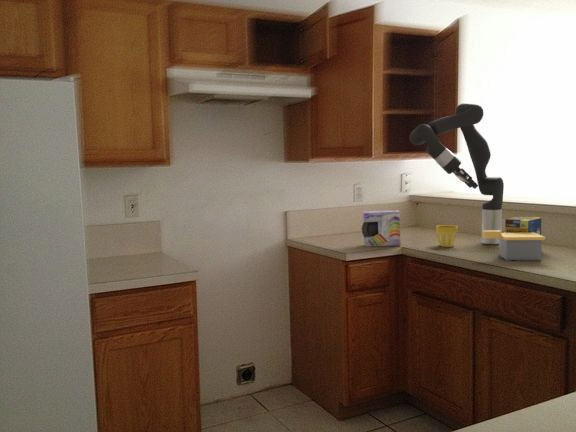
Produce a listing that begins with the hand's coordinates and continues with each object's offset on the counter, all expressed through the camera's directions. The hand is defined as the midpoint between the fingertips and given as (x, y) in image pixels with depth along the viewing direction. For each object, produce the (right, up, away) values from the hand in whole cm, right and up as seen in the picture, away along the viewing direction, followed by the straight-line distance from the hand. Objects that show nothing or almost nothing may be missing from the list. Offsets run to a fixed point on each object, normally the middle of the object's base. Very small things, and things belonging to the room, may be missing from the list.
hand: (474, 186), depth 240 cm
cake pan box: (-34, -28, +39) cm, 59 cm away
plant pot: (-2, -28, +33) cm, 43 cm away
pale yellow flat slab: (+15, -22, -4) cm, 27 cm away
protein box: (+26, -29, +12) cm, 41 cm away
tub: (+18, -31, -4) cm, 36 cm away
